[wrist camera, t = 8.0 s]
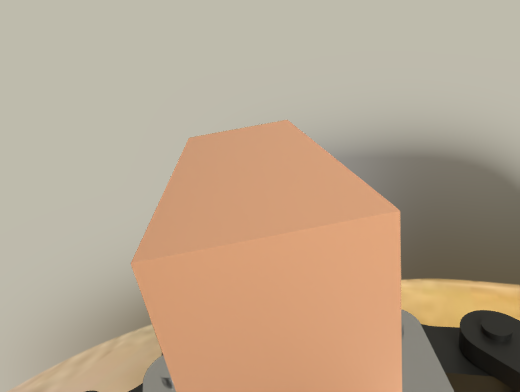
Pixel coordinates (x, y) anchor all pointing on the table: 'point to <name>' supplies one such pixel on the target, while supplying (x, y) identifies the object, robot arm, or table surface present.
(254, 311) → the card box
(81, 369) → the table surface
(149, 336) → the table surface
